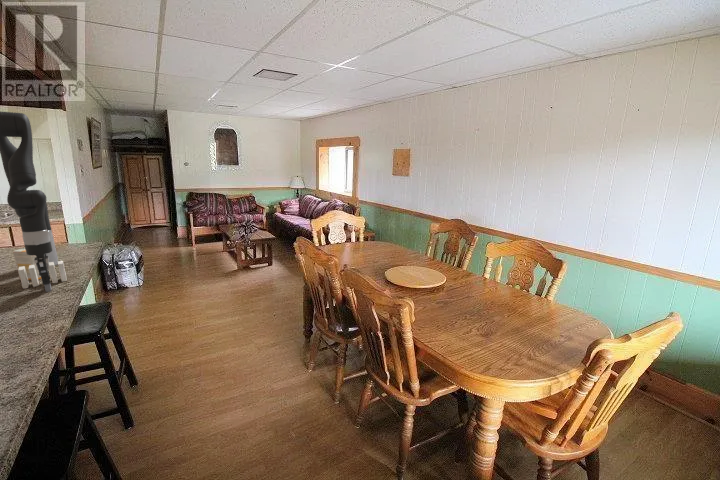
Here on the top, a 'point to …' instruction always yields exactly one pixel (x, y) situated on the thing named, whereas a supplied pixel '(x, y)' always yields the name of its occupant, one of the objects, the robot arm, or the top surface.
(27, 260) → the supplement box
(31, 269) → the ivory domino
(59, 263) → the ivory domino
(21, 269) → the ivory domino
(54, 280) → the ivory domino
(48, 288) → the charcoal domino
